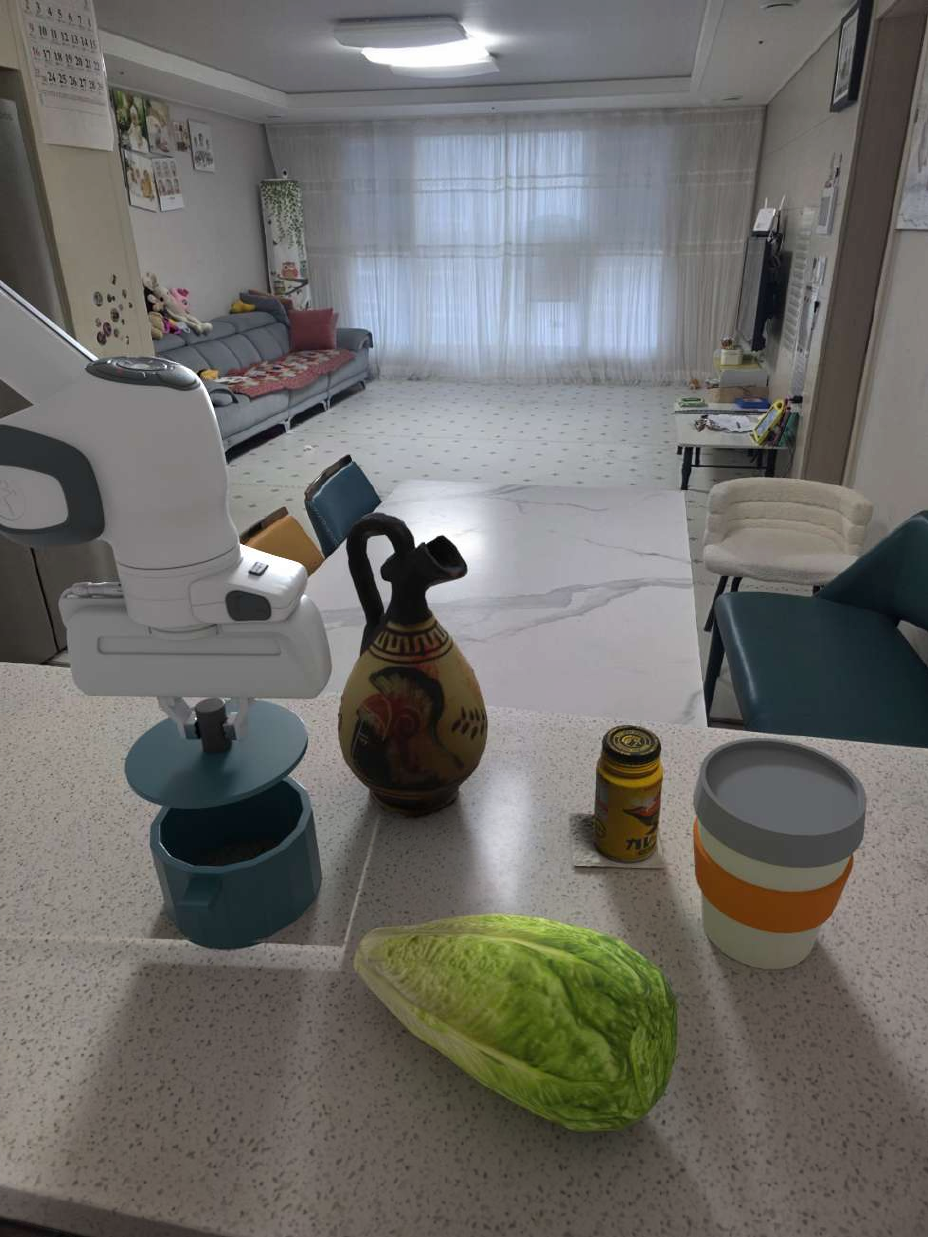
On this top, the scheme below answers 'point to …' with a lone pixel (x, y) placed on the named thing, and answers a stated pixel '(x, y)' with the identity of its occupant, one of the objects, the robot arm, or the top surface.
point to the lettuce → (533, 1011)
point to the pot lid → (216, 756)
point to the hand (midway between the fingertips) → (216, 736)
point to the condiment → (623, 804)
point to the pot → (238, 866)
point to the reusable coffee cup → (773, 846)
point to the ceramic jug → (409, 679)
